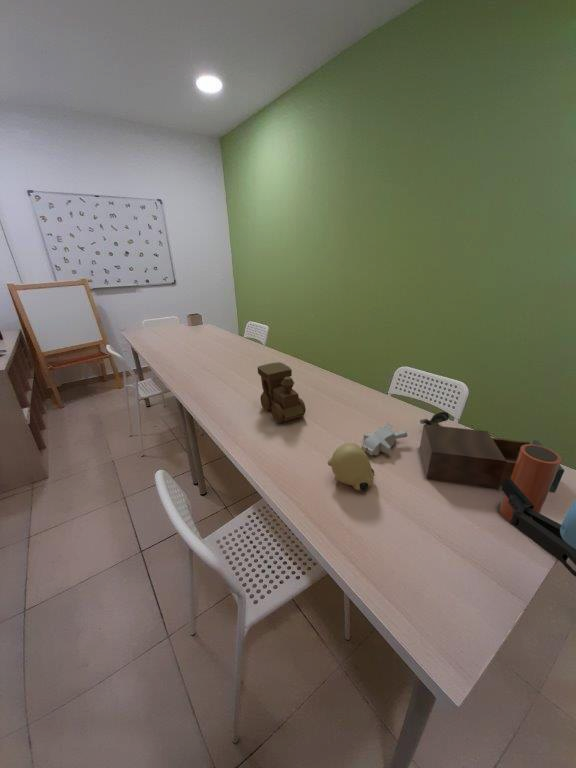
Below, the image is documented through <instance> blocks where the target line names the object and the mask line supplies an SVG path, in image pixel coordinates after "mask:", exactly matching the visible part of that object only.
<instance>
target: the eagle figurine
mask: <svg viewBox="0 0 576 768" xmlns="http://www.w3.org/2000/svg"><path fill="white" fill-rule="evenodd" d="M449 418H450V414H449V413H448V412H446V411H442V412H441V411H440V412H438V413H435V414H433V415H432V417H431V419H428V418H422V419H420V420H419V424H421V425H434V426H442V425H440V424H441V423H443V422H447V421H449Z"/></svg>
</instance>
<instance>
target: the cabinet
mask: <svg viewBox="0 0 576 768" xmlns="http://www.w3.org/2000/svg"><path fill="white" fill-rule="evenodd" d="M492 438H493V436H491V434H490V433H489V431H488V430H479V429H471V428H462V427H452V426H442V425H441V426H439V425H437V426H434V425H426V424H423V427H422V432H421V438H420V443H419V453H420V458H421V462H422V466H423V470H424V475H425V478H426V479H427V480H433V481H434V480H435V481H438V482H439V481H440V482H448V483H455V484H460V485H467V486H473V487H481V488H482V487H483V488H489V489H495V490H498V489H499V486H500V484H501V482H500V480H501V477H502V474H503V471H504V468H505V465H506V462H507V461H506V459H505V458H504V456H503V454H502V453H501V451H500V450H499V448H498V447H497V445H496V444H495V442H494V440H493V439H492Z"/></svg>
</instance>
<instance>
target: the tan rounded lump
mask: <svg viewBox="0 0 576 768" xmlns="http://www.w3.org/2000/svg"><path fill="white" fill-rule="evenodd" d="M327 466H329V467H331V470H332V473H333V475H334V480H335V482H341V483H343V484H345V485H348V486H352V488H353V489H354V490H355V491H359V492H360V491H361V492H365V491H367V490H368V489H369V488H370V487H371V486H372V484H373V482H374V480H375V479H374V478H375V475H376V474H375V470H374V469H373V468H372V464H371V462H370V460H369V457H368V455H367V454H366V452H365V451H364V450H362V446H359V445H358V444H357V443H355V442H349V443H345V444H341V445H340V446H338V447H337V448H336V449H335V450H334V452H333V454H332V456H331V458H330V459H328V461H327Z"/></svg>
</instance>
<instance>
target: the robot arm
mask: <svg viewBox="0 0 576 768" xmlns="http://www.w3.org/2000/svg"><path fill="white" fill-rule="evenodd" d="M501 491H502V492H503V494H505V495H506V496H507V497H508V498H509V499H508V503H509V504H510V505H511V507H512V508H513V509H514V511H513V514H512V517H511V520H510V522H509V524H510V525H511V526H513V527H514V528H515V529H517V530H518V531H519V532H520V533H522V534H523V535H524V536H526V537H527V538H528V539H529V540H531V541H532V542H533V543H535V544H536V545H538V546H539V547H540V548H541V549H543V550H544V551H545V552H547V554H549V555H550V556H552V557H553V558H555V559H556V560H557V561H558V562H560V563H561V564H562V565H563V567H565V568H566V570H568V571H569V573H570V574H571V575H572V576H574V577H575V578H576V498H575V499H574V501H573V502H572V504H571V505H570V506H569V508H568V510H567V512H566V514H565V515H564V517H563V519H562V521H561V523H559V522H557V521H555V520H553V519H552V518H549V517H548V516H546V515H544V514H542V513H541V512H540V513H538V512H536V511H534V510H533V508H534V505H533V504H532V503H531V502H530V501H529V500H528V498H527V497H526V496H525V495H524V494H523V493H522V492H521V490H520V489H519V488H518V487H517V486H516V485H515V483H514V482H513V481H512V480H511V479H510V478H505V481H504V483H503V485H502V488H501ZM530 517H532V519H531V518H530Z"/></svg>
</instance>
